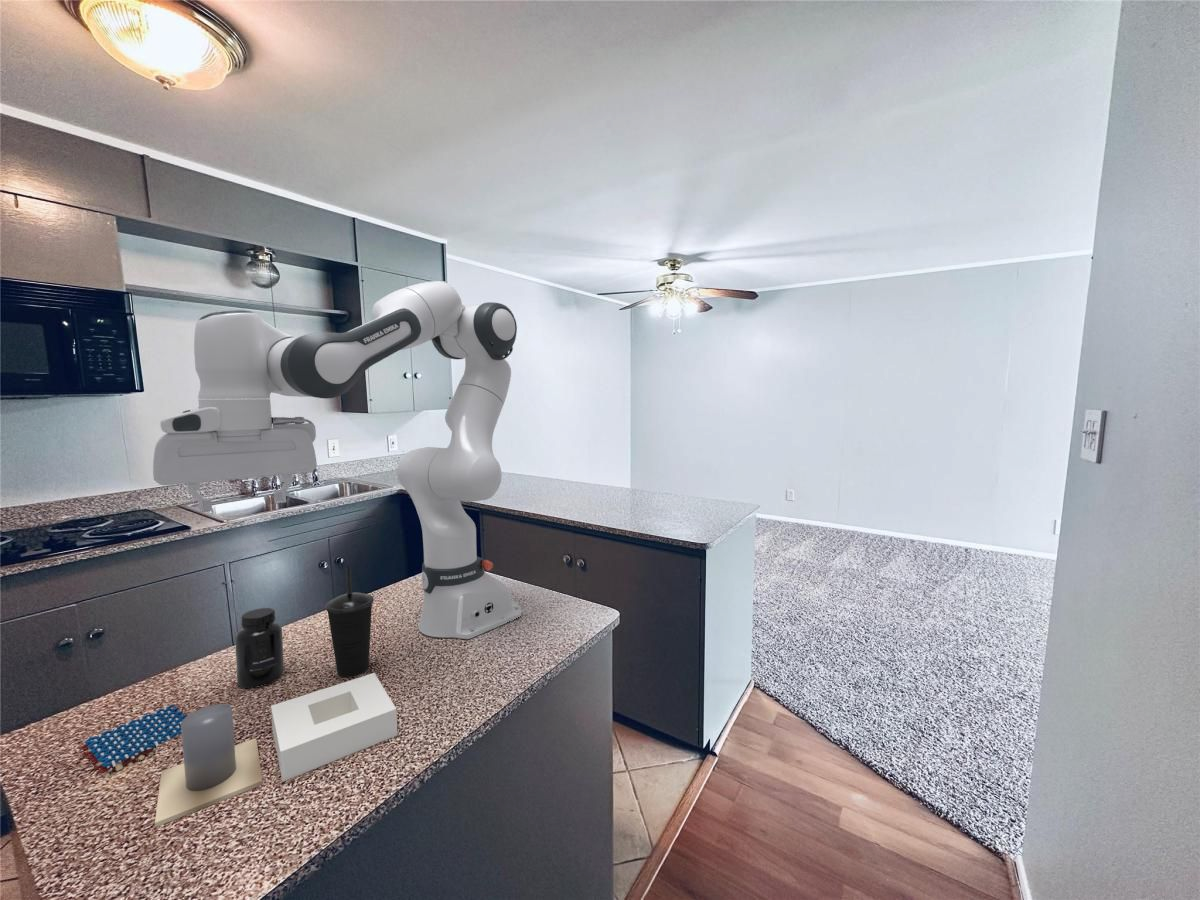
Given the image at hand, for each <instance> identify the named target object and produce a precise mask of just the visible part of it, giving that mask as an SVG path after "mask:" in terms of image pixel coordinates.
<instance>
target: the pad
mask: <svg viewBox="0 0 1200 900" xmlns="http://www.w3.org/2000/svg"><path fill="white" fill-rule="evenodd" d="M235 757H236V770H235V772H234V773H233V774H232V776H230V777H229V778H228V779H227V780H225V781H224V782H222V783H221V784H219V785H217V786H215V787H212V788H209V789H206V790H202V791H190V790H188V789H187V788H186V779H185V768H184V762H182V763H181V764H177V765H175V766H172V767H169V768H165V769H163V770H161V771H160V773H161V774H160V779H159V789H158V795H157V804H156V811H155V819H154V826H155V827H154V828H157V827H160V826H162V825H164V824H165V825H166V824H169V823H170V822H172V821H174V820H177V819H180V818H182V817H185V816H189V815H190V814H192V813H195V812H198V811H200V810H203V809H205V808H208V807H210V806H212V805H215V804H217V803H220V802H223V801H225V800H227V799H231V798H233V797H235V796H238V795H240V794H242V793H246V792H248V791H250V790H253V789H255V788H258V787H260V786H263V775H262V769H261V763H260V754H259V748H258V741H257V737H256V738H255V737H254V738H252V739H249V740H246V741H243V742H241V743H238V744H235Z"/></svg>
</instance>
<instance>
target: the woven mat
mask: <svg viewBox="0 0 1200 900" xmlns="http://www.w3.org/2000/svg"><path fill="white" fill-rule="evenodd" d="M175 706H176V704H175V703H172V704H169V705H168V706H166V707H164V708H158V709H157V710H156V711H154V712H153V713H152V714H144V715H143V716H142V717H138V718H137V719H132V720H131V721H130V722H126V723H124V724H119V725H118V726H117V727H116V726H115V727H114V728H113V729H112V730H107V729H106V730H103V732H102V734H101V733H99V734H98V735H97V736H94V735H93V736H90V737H89V738H87V739H86V740H85V741H83V744H84V745H81V746H80V748H81V750H82V751H83V753H82V755H83V756H86V759H87V760H89V761H90V763H92V765H94V768H93V770H97V772H98V774H100V775H103V777H105V778H108V777H110V776H111V773H110V772H112V771H115V772H119V771H121V770H124V767H125V766H127V767H128V766H129V767H128V768H130V767H132V766H134V765H135V763H134V762H133V761H134V760H137V762H142V761H143V760H144V759H145V757H146V756H145V755H151V756H153V754H154V753H155V752H156V751H157V747H158V746H159V745H160V744H161V743H164V742H167V741H168V740H171V739H173V738H174V737H179V736H180V735H182V732H181V722H182V721H183V719H184V718H185V717H187V716H188V715H187V714H186V713H185V714H184V713H183V712H184V711H183V710H180V708H179V707H175ZM154 755H155V754H154ZM139 760H140V761H139ZM141 760H142V761H141ZM126 764H127V765H126Z"/></svg>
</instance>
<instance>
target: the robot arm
mask: <svg viewBox="0 0 1200 900" xmlns="http://www.w3.org/2000/svg"><path fill="white" fill-rule="evenodd" d="M462 302H463V301H462V299H461V296H460V295H459V293H458V291H457V290H456V289H455V288H454V287H453V286H452V285H451V284H449V283H447V282H446V281H442V280H435V281H433V280H431V281H426V282H420V283H416V284H411V285H408V286H405V287H403V288H400V289H399V288H398V289H397V290H395V291H392V292H391V293H389V294H386V295H385V296H383V297H382V298H380V299H378V300H377V301H376V302H375V303H374V304H373V306H372V309H371V320H370V321H367V322H366V323H363V324H362V325H361V324H360V326H356V327H355V328H353V329H350V330H348V331H345V332H329V331H318V332H316V331H315V332H311V333H308V334H304V335H300V336H294V335H291V334H289V333H287V332H284V331H282V330H280V329H278V328H276V327H274V326H273V325H271V324H270V323H269V322H266V320H264V319H263V318H262V317H260V315H258V313H256V312H253V311H251V310H243V309H242V310H223V311H214V312H210V313H207V314H205V315H203V316H201V317H200V318H199V319H198V320H197V321H196V323H195V328H194V337H193V339H194V342H193V343H194V344H193V345H194V346H193V348H194V349H193V351H194V352H193V353H194V365H195V366H194V367H195V372H196V373H197V376H198V378H199V384H200V386H199V391H198V395H197V399H198V400H197V402H198V406H197V409H196V408H195V409H192V410H191V409H187V410H185V411H182V412H181V413H177V414H172V415H168V416H166V417H164V418H162V419H161V421H160V424H159V425H160V430H161V431H162V432H164V433H165V434H164V435H162V436H161V437H160V438H159V439H158V440H157V442H156V443H155V447H154V452H153V460H152V461H153V464H152V474H153V475H152V476H153V480H154V481H155V483H157V484H159V485H160V486H172V485H182V484H183V485H185V484H186V485H187V492H188V493H189V494H190V495H191V496H192V497H193V498H194V500H196V501H197V502H198V508H199V510H198V511H199V513H207V512H208V513H209V512H212V511H213V505H212V498H211V497H210V498H205V497H204V496H203V495H202V494H200V492H199V491H198V490H200V489H201V484H200V483H207V482H208V483H209V482H217V481H229V480H242V479H251V478H264V477H265V478H266V477H275V476H276V477H277V476H280V480H281V481H282V482H283V484H282V486H281V488H280V489H279V490H277V491H273V496H274V498H273V499H274V503H275V504H276V505H277V504H285V503H287V494H286V493H287V491H288V490H289V489H290V486H291V485H292V483H293V480H294V479H293V475H298V474H311V473H313V472H314V470H315V469H317V467H318V464H317V462H318V461H317V457H316V456H317V455H316V452H315V451H316V450H315V446H314V442H315V440H316V437H317V433H316V425H315V423H314V422H313V421H312V420H309V419H307V418H305V417H304V416H294V417H285V416H281V417H280V416H279V417H276V416H275V417H273V416H272V407H271V405H272V404H271V394H272V393H273V394H278V395H281V396H285V397H298V398H299V397H301V398H306V397H312V398H316V399H317V398H318V399H327V400H328V399H334V398H338V397H341V396H342V395H344V394H346V393H347V392H349V391H350V390H351V388H353V387H354V385H355V384H356V383H357V382H358V380H359V379H360V378H361V377H362V375H363V374H364V373H365V372H366V370H368V369H369V368H371V367H372V366H373V365H376V364H377V363H379V362H381V361H383V360H384V359H386V358H388V357H390V356H391V355H393V354H395V353H397V352H398V351H404V350H409V349H411V348H415V347H417V346H420V345H423V344H425V343H426V342H429V341H431V342H432V344H433V347H434V348H435V349H436V351H437V352H438V353H439V354H440V355H441V356H443V357H444V358H447V359H450V360H464V361H465V367H464V373H463V375H462V377H461V379H460V380H459V383H458V385H457V387H456V389H455V391H454V394H453V396H452V398H451V401H450V402H449V405H448V407H447V409H446V411H445V415H444V420H445V423H446V425H447V427H448V428H449V429H450V431H451V439H450V443H449V444H448V446H447V447H435V446H427V447H419V448H416V449H412V450H409V451H407V452H406V453H404V454H403V456H402V457H400V460H399V462H398V464H397V468H396V474H397V475H396V476H397V479H398V481H399V484H400V485H401V486H402V488H403V489H404V490H405V491H406V492H407V493H408V495H409V496H410V499H411V500H412V503H413V505H414V507H415V509H416V512H417V515H418V518H419V521H420V525H421V526H420V527H421V531H422V543H423V545H422V546H423V562H422V564H421V565H422V566H421V567H422V568H421V571H422V572H421V584H422V590H423V602H422V609H421V613H420V614H421V615H420V618H419V622H418V626H417V628H418V631H420V633H421V634H423V635H425V636H429V637H433V638H455V639H462V640H469V639H472V638H474V637H477V636H479V635H482V634H484V633H486V632H489V631H491V630H493V629H495V628H498V627H501V626H502V625H505V624H507V622H508V623H510V622H512V621H514V619H515V620H516V618H517V619H519V618H521V617H522V616H521V615H523V614H522V608H521V606H520V605H519V604H518V603H517V602H515V601H514V600H512V597H511V594H510V593H511V592H510V591H509V589H508V587H507V586H506V585H505V584H504V583H503V582H502V581H500V580H498V579H497V578H495V577H494V576H492V575H491V574H489V573H487V572H489V571H491V570H492V569H493V568H494V563H493V562H492V561H490V560H488V559H484V558H482V557H479V556H478V555H477V554H478V553H477V552H478V551H477V527H476V523H475V522H474V521H473V519H472V518H471V517H470V516H469V515H468V514H467V513H466V511H465V510H464V508H463V505H462V503H461V502H463V503H464V502H465V503H471V502H480V501H486V500H489V499H491V498H492V497H494V495H495V494H496V493H497V492H498V490H499V488H500V486H501V484H502V483H501V482H502V469H501V466H500V462H499V461H498V460H497V458H496V457H495V455H494V451H493V438H494V437H493V436H494V432H495V428H496V426H497V423H498V420H499V418H500V416H501V412H502V410H503V406H504V403H505V401H506V398H507V397H508V396H507V395H508V392H509V388H510V384H511V383H510V382H511V379H512V378H511V377H512V369H511V366H510V364H509V362H508V361H507V360H506V359H507V358H508V357H509V356H510V355H512V352H513V350H514V348H513V346H514V344H515V341H516V339H517V333H518V332H517V330H518V329H517V328H518V324H517V320H516V319H515V316H514V313H513V312H512V310H511V309H510V308H509V307H508V306H506V305H505V304H504V303H503V304H502V303H500V302H484V303H481V304H476V305H471V306H465V305H463V304H462ZM485 570H486V571H487V572H486V571H485ZM520 616H521V617H520ZM518 617H519V618H518ZM509 621H510V622H509Z"/></svg>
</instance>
